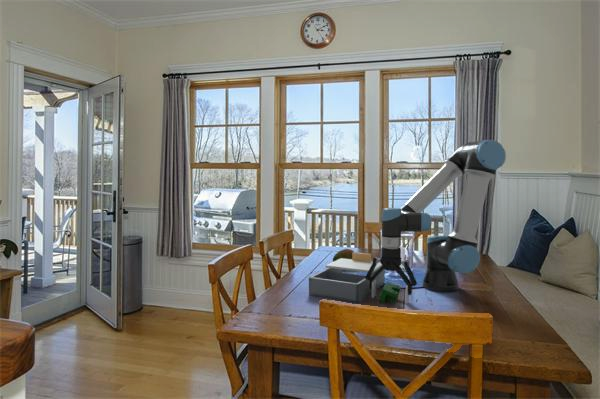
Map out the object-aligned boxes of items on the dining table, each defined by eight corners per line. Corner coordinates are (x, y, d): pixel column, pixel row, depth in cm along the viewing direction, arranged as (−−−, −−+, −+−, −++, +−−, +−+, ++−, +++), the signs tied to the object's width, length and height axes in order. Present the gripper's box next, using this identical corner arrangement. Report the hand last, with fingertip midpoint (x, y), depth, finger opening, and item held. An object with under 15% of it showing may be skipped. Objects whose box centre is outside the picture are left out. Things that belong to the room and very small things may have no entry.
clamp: (392, 314, 153) (395, 297, 148) (377, 309, 155) (380, 292, 150) (399, 295, 162) (403, 278, 158) (385, 290, 164) (388, 273, 160)
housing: (384, 282, 182) (384, 266, 181) (358, 303, 153) (358, 284, 153) (341, 276, 193) (340, 261, 192) (308, 295, 164) (308, 277, 163)
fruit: (360, 268, 208) (360, 250, 208) (339, 271, 204) (339, 252, 203) (349, 264, 219) (349, 246, 219) (329, 266, 215) (329, 248, 214)
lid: (384, 265, 181) (384, 255, 181) (372, 273, 166) (372, 262, 166) (340, 260, 192) (340, 251, 192) (325, 267, 177) (325, 257, 177)
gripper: (357, 245, 158) (357, 297, 159) (421, 251, 145) (419, 307, 147) (364, 242, 164) (363, 292, 166) (425, 248, 152) (424, 302, 153)
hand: (390, 299), depth 156 cm, fingers open, 13 cm apart
